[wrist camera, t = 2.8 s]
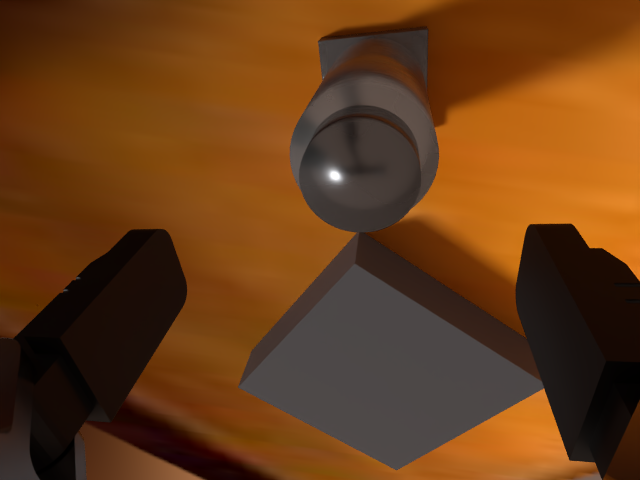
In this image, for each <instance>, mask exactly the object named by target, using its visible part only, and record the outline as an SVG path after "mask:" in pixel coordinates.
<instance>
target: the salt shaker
mask: <svg viewBox="0 0 640 480" xmlns="http://www.w3.org/2000/svg"><path fill="white" fill-rule="evenodd" d="M318 44H319V53H320V62H321V71H322V80H323V81H322V83H321V84H320V86H319V88H318V89H317V91H316V93H315V94H314V96H313V98H312V99H311V101H310V103H309V104H308V106H307V108H306V109H305V111H304V113H303V114H302V116H301V118H300V119H299V121H298V123H297V125H296V127H295V130H294V133H293V136H292V140H291V145H290V162H291V168H292V172H293V175H294V177H295V180H296V182H297V184H298V186H299V188H300V190H301V191H302V194H303V197H304V199H305V201H306V202H307V204H308V205H309V207H310V208H311V210H312V211H313V212H314V213H315V214H316V215H317V216H318V217H320V218H321V219H322V220H323V221H325V222H326V223H328V224H330V225H332V226H334V227H336V228H339V229H342V230H346V231H351V232H372V231H377V230H381V229H384V228H386V227H389V226H391V225H393V224H394V223H396V222H398V221H399V220H400V219H401V218H403V217H404V216H405V215H406V214H407V213H408V212H409V210H410V209H411V208H413V207H414V206H415V205H416V204H417V203H418V202H419V201H420V200H421V199H422V198H423V197H424V195H425V194H426V193H427V192H428V190H429V188H430V186H431V185H432V183H433V180H434V178H435V175H436V171H437V168H438V160H439V148H438V142H437V137H436V132H435V127H434V122H433V118H432V113H431V108H430V103H429V99H428V94H427V60H428V28H427V26H424V27H415V28H406V29H397V30H388V31H378V32H369V33H360V34H351V35H342V36H332V37H323V38H321V39H320V40H319V41H318Z"/></svg>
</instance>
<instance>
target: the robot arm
mask: <svg viewBox="0 0 640 480" xmlns="http://www.w3.org/2000/svg"><path fill="white" fill-rule="evenodd" d="M186 296H187V284H186V279H185V276H184V274H183V271H182V268H181V265H180V262H179V259H178V256H177V254H176V251H175V248H174V245H173V242H172V239H171V237H170V235H169V233H168V232H167V231H166V230H164V229H134V230H130V231H129V232H128V233H127V234H126V235H125V236H124V237H123V238H122V239H121V240H120V241H119V242H118V243H117V244H116V245H115V246H114V247H113V248H112V249H111V250H110V251H109V252H108V253H106V254H104V255H103V256H101V257H99V258H98V259H96V260H95V261H93V262H91V263H90V264H89V265H88V266H87V267H86V268H85V269H84V270H83V271H82V272H81V273H80V274H79V275H78V276H77V277H76V280H73V281H72V282H71V283H70V284H69V285H68V286H67V287H66V288H65V289H64V292H63V293H59V294H58V295H57V296H56V297H55V298H54V299H53V300H52V301H51V302H50V303H49V304H48V305H47V306H46V307H45V308H44V309H43V310H42V311H41V312H40V313H39V314H38V315H37V316H36V317H35V318H34V319H33V320H32V321H31V322H30V323H29V324H28V325H27V326H26V327H25V328H24V329H23V330H22V331H21V332H20V333H19V334H18V335H17V336H15V337H14V338H13V339H11V338H0V480H86V461H85V444H84V438H83V436H82V434H81V433H80V431H79V430H80V428H81V427H82V425H83V424H84V422H85V421H86V420H89V421H102V422H111V421H112V420H113V418H114V417H115V415H116V413H117V412H118V410H119V409H120V407H121V405H122V404H123V402H124V400H125V399H126V397H127V396H128V394H129V392H130V391H131V389H132V388H133V386H134V384H135V383H136V381H137V380H138V378H139V376H140V375H141V373H142V372H143V370H144V368H145V367H146V365H147V364H148V362H149V360H150V359H151V357H152V356H153V354H154V352H155V351H156V349H157V347H158V346H159V344H160V343H161V341H162V339H163V338H164V336H165V335H166V333H167V331H168V330H169V328H170V327H171V325H172V323H173V322H174V320H175V319H176V317H177V315H178V314H179V312H180V311H181V309H182V307H183V306H184V303H185V300H186ZM516 306H517V311H518V315H519V318H520V320H521V323H522V326H523V329H524V332H525V335H526V338H527V340H528V343H529V346H530V349H531V352H532V355H533V358H534V360H535V363H536V366H537V369H538V372H539V375H540V378H541V380H542V383H543V386H544V389H545V392H546V395H547V397H548V400H549V403H550V406H551V409H552V412H553V415H554V417H555V420H556V423H557V426H558V429H559V432H560V435H561V437H562V440H563V443H564V446H565V449H566V452H567V455H568V457H569V460H571V461H584V462H595V463H596V466H597V468H598V471H599V473H600V476H601V478H602V480H640V281H639V280H638V279H637V277H636V276H635V275H634V273H633V272H632V271H631V270H630V268H629V267H628V266H627V264H625V263H624V262H622V261H621V260H619V259H618V258H616V257H615V256H613V255H612V254H610V253H609V252H607V251H605V250H604V249H602V248H589V247H588V245H587V244H586V242H585V241H584V239H583V238H582V236H581V235H580V234H579V232H578V231H577V229H576V228H575V226H574V225H572V224H530V225H529V226H528V228H527V230H526V233H525V238H524V244H523V249H522V255H521V261H520V266H519V272H518V277H517V283H516Z"/></svg>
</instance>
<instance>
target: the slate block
mask: <svg viewBox="0 0 640 480" xmlns="http://www.w3.org/2000/svg"><path fill="white" fill-rule="evenodd" d="M238 388H240V389H242V390H244V391H246V392H248V393H250V394H252V395H254V396H256V397H258V398H259V399H261V400H263V401H265V402H267V403H269V404H271V405H273V406H275V407H277V408H279V409H281V410H282V411H284V412H286V413H288V414H290V415H292V416H294V417H296V418H298V419H300V420H302V421H303V422H305V423H307V424H309V425H311V426H313V427H315V428H317V429H319V430H321V431H323V432H324V433H326V434H328V435H330V436H332V437H334V438H336V439H338V440H340V441H342V442H344V443H345V444H347V445H349V446H351V447H353V448H355V449H357V450H359V451H361V452H363V453H365V454H367V455H368V456H370V457H372V458H374V459H376V460H378V461H380V462H382V463H384V464H386V465H388V466H389V467H391V468H393V469H395V470H398V469H400V468H402V467H403V466H405V465H407V464H409V463H411V462H412V461H414V460H416V459H418V458H419V457H421V456H423V455H425V454H427V453H428V452H430V451H432V450H434V449H436V448H437V447H439V446H441V445H443V444H445V443H446V442H448V441H450V440H452V439H454V438H455V437H457V436H459V435H461V434H463V433H464V432H466V431H468V430H470V429H472V428H473V427H475V426H477V425H479V424H481V423H482V422H484V421H486V420H488V419H490V418H491V417H493V416H495V415H497V414H499V413H500V412H502V411H504V410H506V409H508V408H509V407H511V406H513V405H515V404H516V403H518V402H520V401H522V400H524V399H525V398H527V397H529V396H531V395H533V394H534V393H536V392H538V391H540V390H542V389H543V388H544V386H543V383H542V380H541V378H540V375H539V372H538V369H537V366H536V363H535V360H534V358H533V355H532V352H531V349H530V346H529V343H528V340H527V339H526V338H525V337H523V336H522V335H520V334H519V333H517V332H516V331H514V330H513V329H511V328H509V327H508V326H506V325H505V324H503V323H502V322H500V321H499V320H497V319H496V318H494V317H493V316H491V315H490V314H488V313H486V312H485V311H483V310H482V309H480V308H479V307H477V306H476V305H474V304H473V303H471V302H470V301H468V300H466V299H465V298H463V297H462V296H460V295H459V294H457V293H456V292H454V291H453V290H451V289H450V288H448V287H446V286H445V285H443V284H442V283H440V282H439V281H437V280H436V279H434V278H433V277H431V276H430V275H428V274H427V273H425V272H423V271H422V270H420V269H419V268H417V267H416V266H414V265H413V264H411V263H410V262H408V261H407V260H405V259H403V258H402V257H400V256H399V255H397V254H396V253H394V252H393V251H391V250H390V249H388V248H387V247H385V246H384V245H382V244H380V243H379V242H377V241H376V240H374V239H373V238H371V237H370V236H368V235H367V234H365V233H364V232H357V233H356V234H355V236H354V237H353V238H352V239H351V240H350V241H349V242H348V243H347V245H346V246H345V247H344V248H343V249H342V250H341V251H340V252H339V253H338V255H337V256H336V257H335V258H334V259H333V260H332V261H331V262H330V264H329V265H328V266H327V267H326V268H325V269H324V270H323V271H322V273H321V274H320V275H319V276H318V277H317V278H316V279H315V280H314V282H313V283H312V284H311V285H310V286H309V287H308V288H307V289H306V290H305V292H304V293H303V294H302V295H301V296H300V297H299V298H298V299H297V301H296V302H295V303H294V304H293V305H292V306H291V307H290V308H289V310H288V311H287V312H286V313H285V314H284V315H283V316H282V317H281V319H280V320H279V321H278V322H277V323H276V324H275V325H274V326H273V327H272V329H271V330H270V331H269V332H268V333H267V334H266V335H265V336H264V338H263V339H262V340H261V341H260V342H259V343H258V344H257V345H256V347H255V348H254V349H253V350H252V351H251V354H250V357H249V359H248V362H247V365H246V367H245V370H244V373H243V375H242V378H241V381H240V383H239V386H238Z"/></svg>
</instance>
